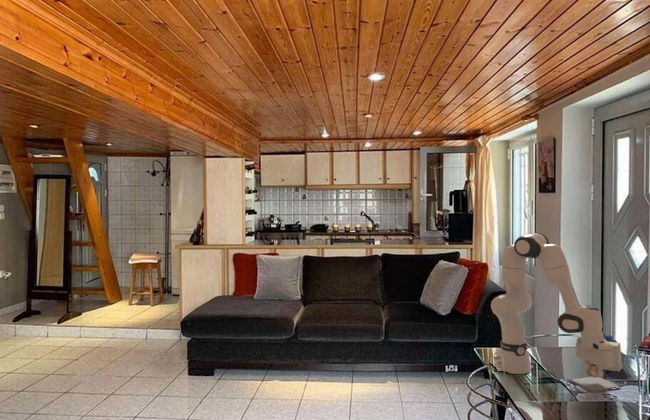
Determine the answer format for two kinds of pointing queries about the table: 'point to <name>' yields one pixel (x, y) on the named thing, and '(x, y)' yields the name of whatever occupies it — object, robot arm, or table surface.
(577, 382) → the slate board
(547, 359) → the table surface
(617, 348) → the supplement box
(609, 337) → the grapes
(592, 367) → the birch block
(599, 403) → the table surface
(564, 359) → the table surface
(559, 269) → the robot arm
